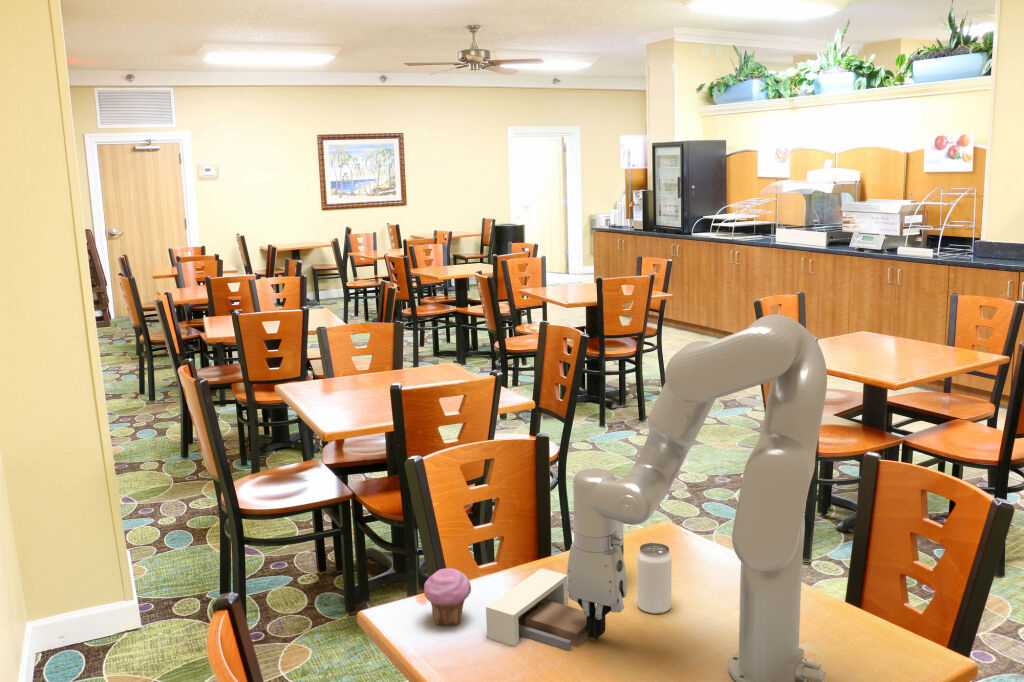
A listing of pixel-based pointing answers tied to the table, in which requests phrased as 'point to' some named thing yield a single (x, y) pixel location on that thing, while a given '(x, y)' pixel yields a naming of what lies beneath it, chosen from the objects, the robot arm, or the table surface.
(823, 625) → the table surface
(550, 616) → the walnut tile
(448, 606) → the cupcake
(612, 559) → the robot arm
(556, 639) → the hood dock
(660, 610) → the can
